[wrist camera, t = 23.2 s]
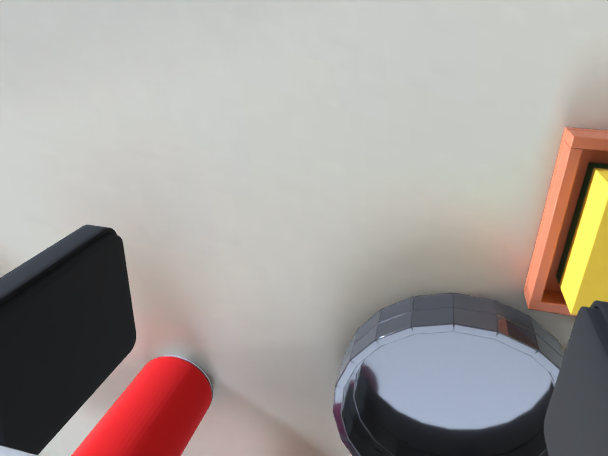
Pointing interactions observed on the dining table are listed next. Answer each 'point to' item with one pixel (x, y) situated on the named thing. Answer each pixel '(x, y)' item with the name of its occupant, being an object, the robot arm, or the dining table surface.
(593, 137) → the soap dish
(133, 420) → the beverage can
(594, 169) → the sponge
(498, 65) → the dining table surface
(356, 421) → the pan
